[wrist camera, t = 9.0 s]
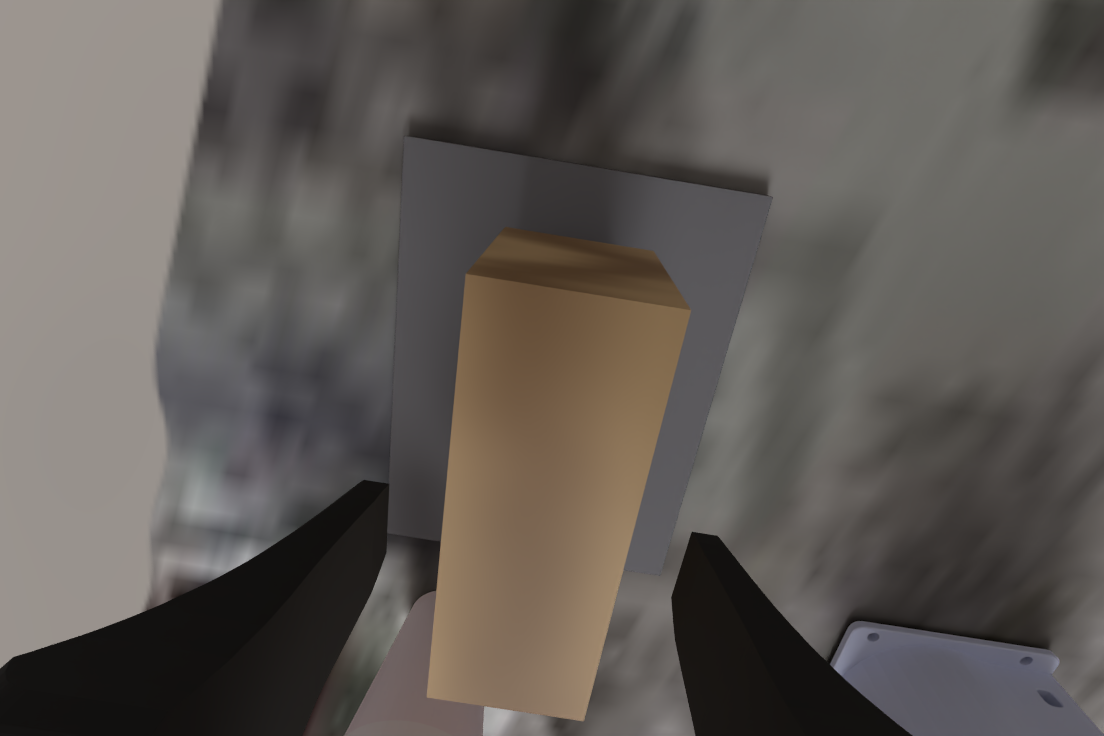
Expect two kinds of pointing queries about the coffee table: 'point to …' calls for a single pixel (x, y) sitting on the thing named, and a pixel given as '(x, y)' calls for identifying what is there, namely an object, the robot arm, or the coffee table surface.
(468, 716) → the smoothie
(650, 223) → the peg base
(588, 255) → the oak block
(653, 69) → the coffee table surface
